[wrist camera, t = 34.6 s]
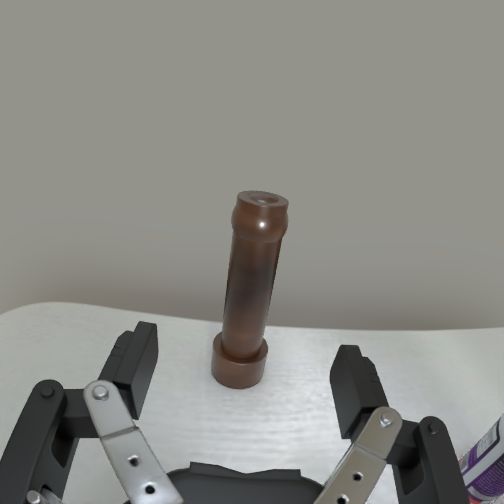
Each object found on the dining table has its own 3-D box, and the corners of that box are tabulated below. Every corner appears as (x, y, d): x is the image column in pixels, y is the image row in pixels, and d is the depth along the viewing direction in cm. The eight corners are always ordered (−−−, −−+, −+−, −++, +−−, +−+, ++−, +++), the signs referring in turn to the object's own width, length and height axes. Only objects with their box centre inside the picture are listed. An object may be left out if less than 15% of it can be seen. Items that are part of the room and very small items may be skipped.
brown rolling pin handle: (222, 394, 24) (245, 205, 17) (204, 357, 27) (218, 183, 21) (271, 381, 26) (313, 205, 19) (249, 348, 29) (277, 184, 23)
